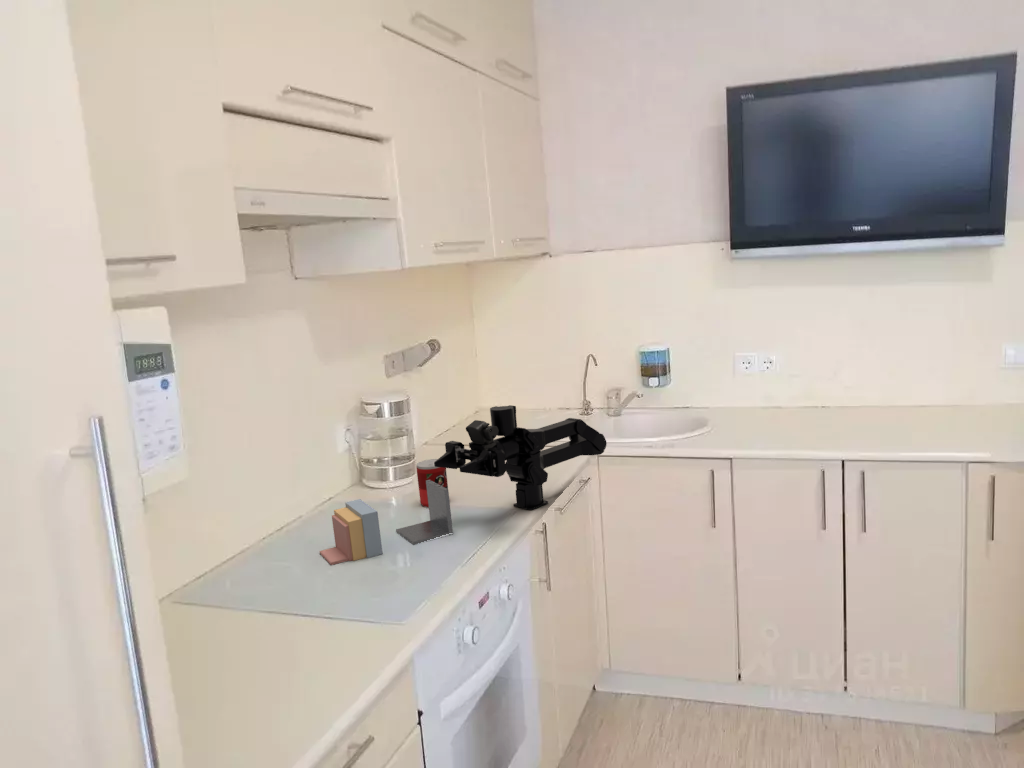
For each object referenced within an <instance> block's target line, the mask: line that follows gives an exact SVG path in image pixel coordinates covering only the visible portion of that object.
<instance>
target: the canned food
mask: <svg viewBox="0 0 1024 768" xmlns="http://www.w3.org/2000/svg"><path fill="white" fill-rule="evenodd" d="M438 459H439V458H430V459H425V460H421V461H418V462H417V463H416V464H415V465H416V477H417V484H418V493H419V501H420V504H421V505H422V507H425V506H426V507H425V508H429V505H428V496H427V487H426V480H431V481H433V482H435V483H437V484H439V485H441V486H443V487H445V488H447V489H448V490H449V485H448V475H447V468H442V467H435V466H434V462H435V461H436V460H438Z"/></svg>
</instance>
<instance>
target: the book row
mask: <svg viewBox="0 0 1024 768" xmlns="http://www.w3.org/2000/svg"><path fill="white" fill-rule="evenodd" d="M344 504H345V505H344V506H345V507H342V508H338V509H337V508H336V509H334V510H333V515H331V521H332V528H333V529H332V530H333V535H334V544H335V547H330V548H327V549H323V550H319V555H320V556H322V557H323V558H324V560H325V561H326V562H328V563H329V564H330V565H331V566H333V565H338V564H341V563H345V562H348V561H349V562H352V561H353V562H355V561H359V560H362V559H370V558H373V557H376V556H380V555H383V554H384V553H383V547H382V546H383V545H382V537H381V529H380V521H379V514H378V510H377V509H375V508H373V507H372V506H371V505H369V504H368V503H366V502H365V501H363V500H362V499H360V498H359V499H353V500H350V501H345V502H344Z"/></svg>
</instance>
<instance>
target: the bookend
mask: <svg viewBox="0 0 1024 768" xmlns="http://www.w3.org/2000/svg"><path fill="white" fill-rule="evenodd" d="M426 487H427V496H428V505H429V507H428V512H429V513H428V514H429V520H428V521H423V522H419V523H415V524H412V525H407V526H404V527H400V528H396V529H395V533H396V532H397V533H396V534H398V535H399V534H400V535H399V536H401V537H402V538H403V537H404V538H403V539H405V540H406V541H407V540H408V541H407V542H409V543H410V544H412V545H413V546H414V545H419V544H422V543H421V542H423V543H425V542H424V541H426V542H428V541H427V540H430V539H434V538H436V537H440V536H442V535H446V534H449V533H453V534H454V532H453V521H452V520H453V519H452V511H451V502H450V492H449V488H448V489H447V488H445V487H443V486H441V485H439V484H437V483H435V482H433V481H431V480H426ZM434 540H435V539H434ZM430 541H431V540H430ZM418 543H419V544H418Z"/></svg>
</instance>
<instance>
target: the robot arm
mask: <svg viewBox="0 0 1024 768" xmlns="http://www.w3.org/2000/svg"><path fill="white" fill-rule="evenodd" d="M489 413H490V422H491V425H490V423H489V422H486V421H484V420H477V419H475V420H474V421H472V422H470V423H469V424H468V425H467V426H466V427H465V430H466V431H465V432H467V434H468V436H469V438H470V442H469V443H468V447H469V448H470V449H467V448H465V445H464V444H463V443H462V442H460V441H457V440H456V441H455V440H450V441H447V442H445V444H444V445H445V447H444V448H445V453H444V454H443V455H441V456H440V457H439V458H437V459H438V460H436V461H435V462H434V466H435V467H442V468H446V469H453V470H457V469H459V472H460V473H464V474H472V475H479V476H484V477H486V476H487V477H492V478H493V477H494V478H495V477H496V478H500V477H502V476H504V475H505V473H507V476H508V478H509V480H510V482H513V483H515V498H516V499H515V500H516V503H513V507H516V508H520V509H525V510H529V511H531V510H534V509H537V508H540V507H542V506H544V505H545V506H546V505H547V504H549V501H548V500H545V499H544V491H543V490H544V489H543V485H544V483H546V482H548V475H549V473H548V472H547V471H546V470H545V469H546V468H549V467H550V468H551V467H552V466H556V465H558V464H560V463H563V462H566V461H570V460H572V459H575V458H577V457H580V456H599V455H602V454H603V453H604V452H605V450H606V447H607V445H608V444H607V440H606V437H605V436H604V433H600V432H599V431H598V430H596V429H595V428H593V427H591V426H590V425H588V424H587V423H586V421H584V420H582V419H581V418H574V417H569V418H566V419H565V420H561V421H558V422H555V423H552V424H549V425H545V426H541V427H538V428H526V427H518V424H517V407H516V405H502V406H499V405H498V406H496V405H495V406H493V407H490V408H489ZM497 436H498V438H496V437H497ZM567 438H569V440H568V441H566V442H563V443H560V444H557V445H555V446H551V447H549V448H546V449H545V447H546V446H547V445H549V444H551V443H555V442H557V441H558V442H559V441H560V440H563V439H567ZM467 461H469V462H467Z"/></svg>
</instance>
